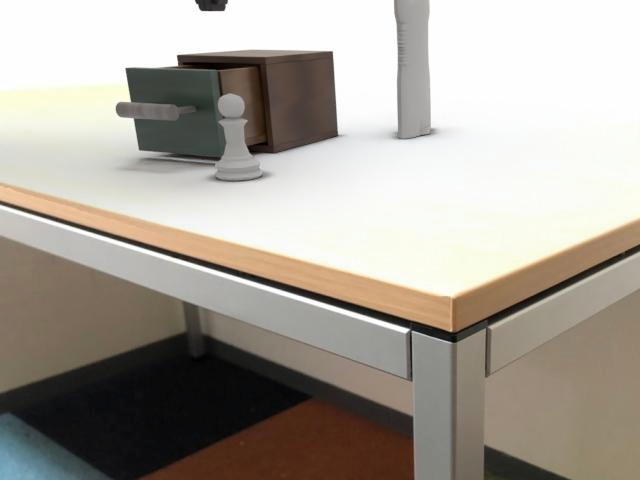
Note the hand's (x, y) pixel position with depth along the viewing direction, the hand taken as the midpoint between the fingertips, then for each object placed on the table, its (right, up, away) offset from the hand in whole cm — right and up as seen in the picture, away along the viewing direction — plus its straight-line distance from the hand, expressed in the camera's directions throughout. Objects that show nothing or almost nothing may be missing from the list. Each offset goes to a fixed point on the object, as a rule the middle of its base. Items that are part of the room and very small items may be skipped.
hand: (212, 10), depth 70 cm
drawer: (-6, -9, +16) cm, 19 cm away
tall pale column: (+17, -3, +32) cm, 36 cm away
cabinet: (-1, -5, +26) cm, 27 cm away
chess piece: (+1, -15, +5) cm, 16 cm away
